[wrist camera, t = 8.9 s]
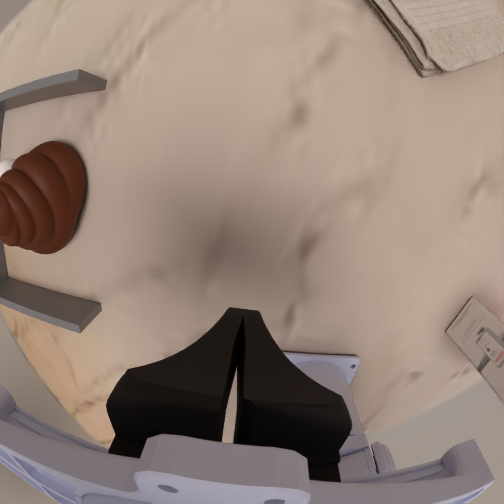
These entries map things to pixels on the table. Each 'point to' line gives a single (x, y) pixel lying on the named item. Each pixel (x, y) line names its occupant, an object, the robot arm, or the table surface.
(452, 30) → the washcloth
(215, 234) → the table surface
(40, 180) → the poop emoji
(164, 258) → the table surface
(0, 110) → the bin
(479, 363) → the ink box
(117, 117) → the table surface
